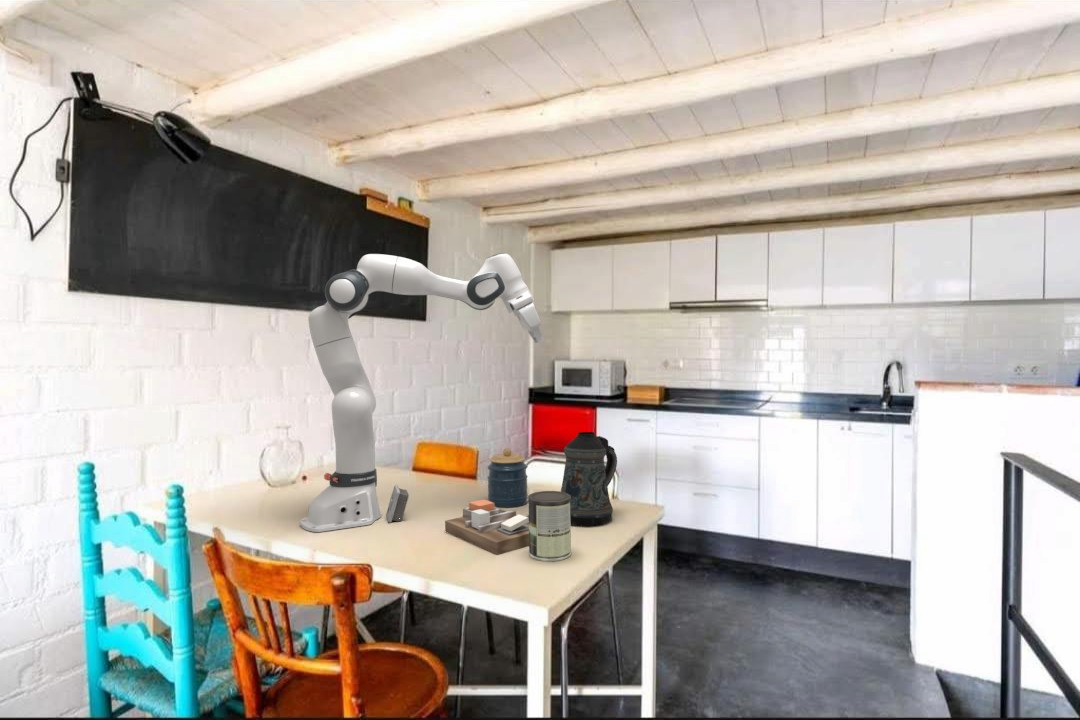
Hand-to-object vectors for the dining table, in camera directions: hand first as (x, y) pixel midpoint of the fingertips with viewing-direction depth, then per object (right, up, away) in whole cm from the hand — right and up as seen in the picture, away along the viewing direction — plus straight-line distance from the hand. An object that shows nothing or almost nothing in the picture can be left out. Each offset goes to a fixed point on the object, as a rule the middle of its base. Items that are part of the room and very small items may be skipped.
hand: (539, 341), depth 181 cm
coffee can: (+3, -53, -40) cm, 66 cm away
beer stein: (+14, -52, -10) cm, 55 cm away
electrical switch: (-42, -53, -9) cm, 68 cm away
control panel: (-11, -52, -26) cm, 59 cm away
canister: (-10, -52, +8) cm, 54 cm away
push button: (-16, -47, -20) cm, 54 cm away
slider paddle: (-15, -49, -29) cm, 59 cm away
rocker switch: (-6, -47, -32) cm, 57 cm away
